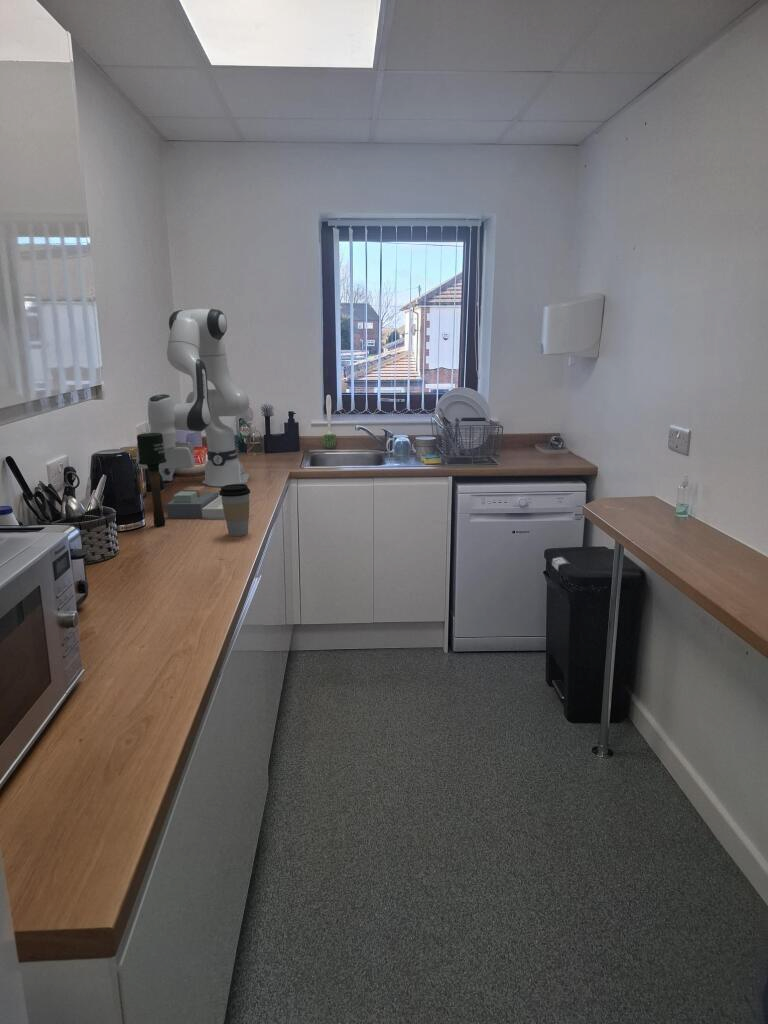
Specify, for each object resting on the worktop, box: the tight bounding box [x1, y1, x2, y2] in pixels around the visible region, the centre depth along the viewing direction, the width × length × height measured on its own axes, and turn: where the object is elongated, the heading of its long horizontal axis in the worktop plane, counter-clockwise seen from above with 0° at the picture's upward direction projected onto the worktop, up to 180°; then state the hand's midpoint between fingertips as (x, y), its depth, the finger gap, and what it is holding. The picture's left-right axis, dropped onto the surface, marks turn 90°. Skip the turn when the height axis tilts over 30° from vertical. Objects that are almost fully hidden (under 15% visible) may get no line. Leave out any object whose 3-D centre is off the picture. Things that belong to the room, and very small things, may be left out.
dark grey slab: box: [165, 491, 220, 519], centre depth 235 cm, size 18×12×5 cm, turn 175°
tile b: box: [173, 490, 198, 503], centre depth 230 cm, size 6×6×2 cm
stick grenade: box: [136, 432, 167, 528], centre depth 215 cm, size 8×9×30 cm
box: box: [201, 495, 225, 520], centre depth 234 cm, size 20×10×4 cm, turn 175°
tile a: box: [182, 485, 206, 497], centre depth 238 cm, size 6×6×2 cm
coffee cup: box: [218, 483, 251, 537], centre depth 206 cm, size 9×9×15 cm
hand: (167, 480), depth 237 cm, fingers closed
